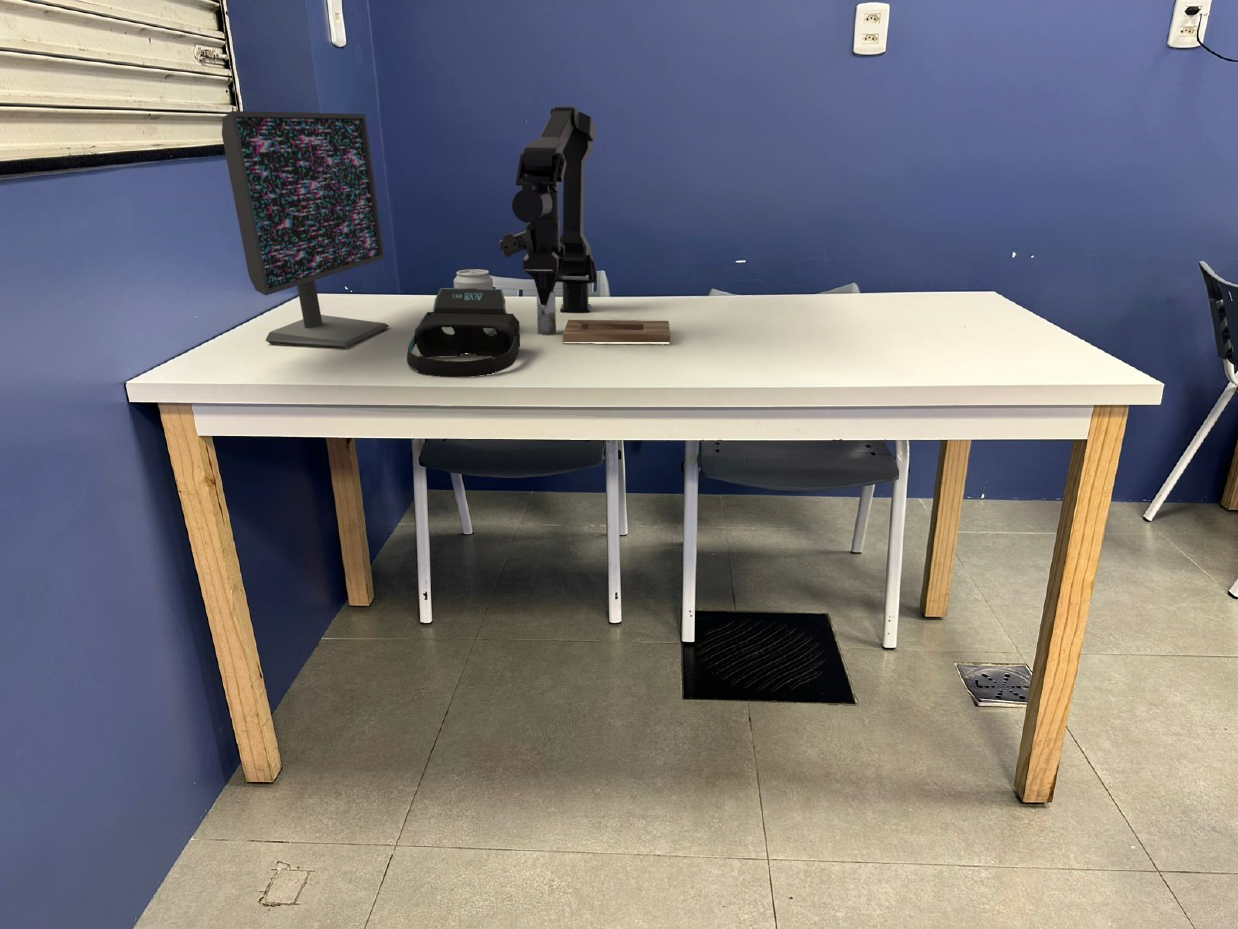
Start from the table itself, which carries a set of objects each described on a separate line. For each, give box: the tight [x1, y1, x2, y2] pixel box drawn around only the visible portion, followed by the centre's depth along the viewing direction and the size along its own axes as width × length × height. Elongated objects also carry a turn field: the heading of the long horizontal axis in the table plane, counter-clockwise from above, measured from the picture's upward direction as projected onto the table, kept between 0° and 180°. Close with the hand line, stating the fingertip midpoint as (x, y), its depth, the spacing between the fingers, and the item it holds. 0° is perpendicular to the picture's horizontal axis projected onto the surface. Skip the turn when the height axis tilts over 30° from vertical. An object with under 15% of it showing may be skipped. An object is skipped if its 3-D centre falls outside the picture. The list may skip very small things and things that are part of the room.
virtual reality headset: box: [406, 287, 521, 378], centre depth 148 cm, size 19×22×10 cm
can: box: [453, 268, 494, 335], centre depth 167 cm, size 8×8×12 cm
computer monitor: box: [221, 110, 390, 349], centre depth 158 cm, size 44×16×40 cm, turn 168°
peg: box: [536, 290, 557, 336], centre depth 168 cm, size 4×4×8 cm
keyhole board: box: [562, 319, 671, 343], centre depth 166 cm, size 12×20×2 cm, turn 88°
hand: (546, 300), depth 167 cm, fingers open, 9 cm apart
